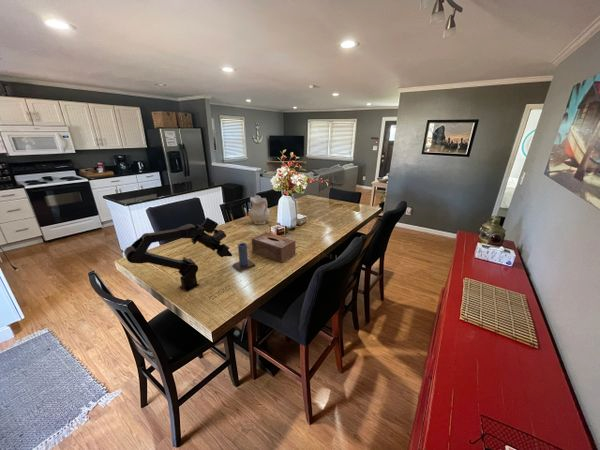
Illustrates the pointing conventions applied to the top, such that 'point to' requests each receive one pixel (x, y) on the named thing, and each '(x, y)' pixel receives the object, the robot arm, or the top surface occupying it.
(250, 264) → the brown plate with knob
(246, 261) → the blue sleeve
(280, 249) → the tissue box cover
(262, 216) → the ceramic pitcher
